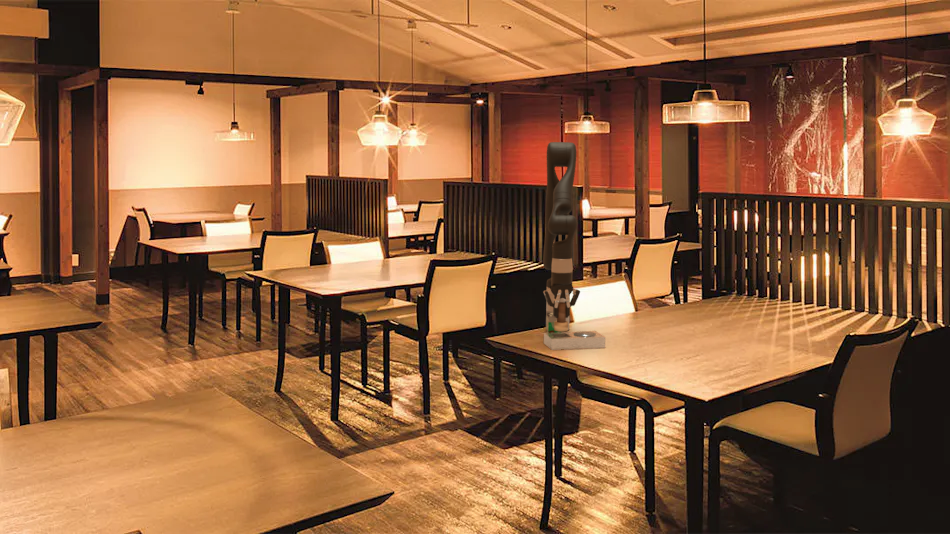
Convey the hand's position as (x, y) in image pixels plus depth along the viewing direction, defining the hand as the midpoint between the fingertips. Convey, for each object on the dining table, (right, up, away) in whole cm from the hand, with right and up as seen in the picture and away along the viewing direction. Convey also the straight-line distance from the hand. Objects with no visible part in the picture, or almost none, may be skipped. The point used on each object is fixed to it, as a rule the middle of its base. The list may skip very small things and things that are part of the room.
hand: (561, 317), depth 313 cm
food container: (-1, -9, +12) cm, 15 cm away
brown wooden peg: (0, -5, +1) cm, 5 cm away
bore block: (+5, -10, +2) cm, 12 cm away
